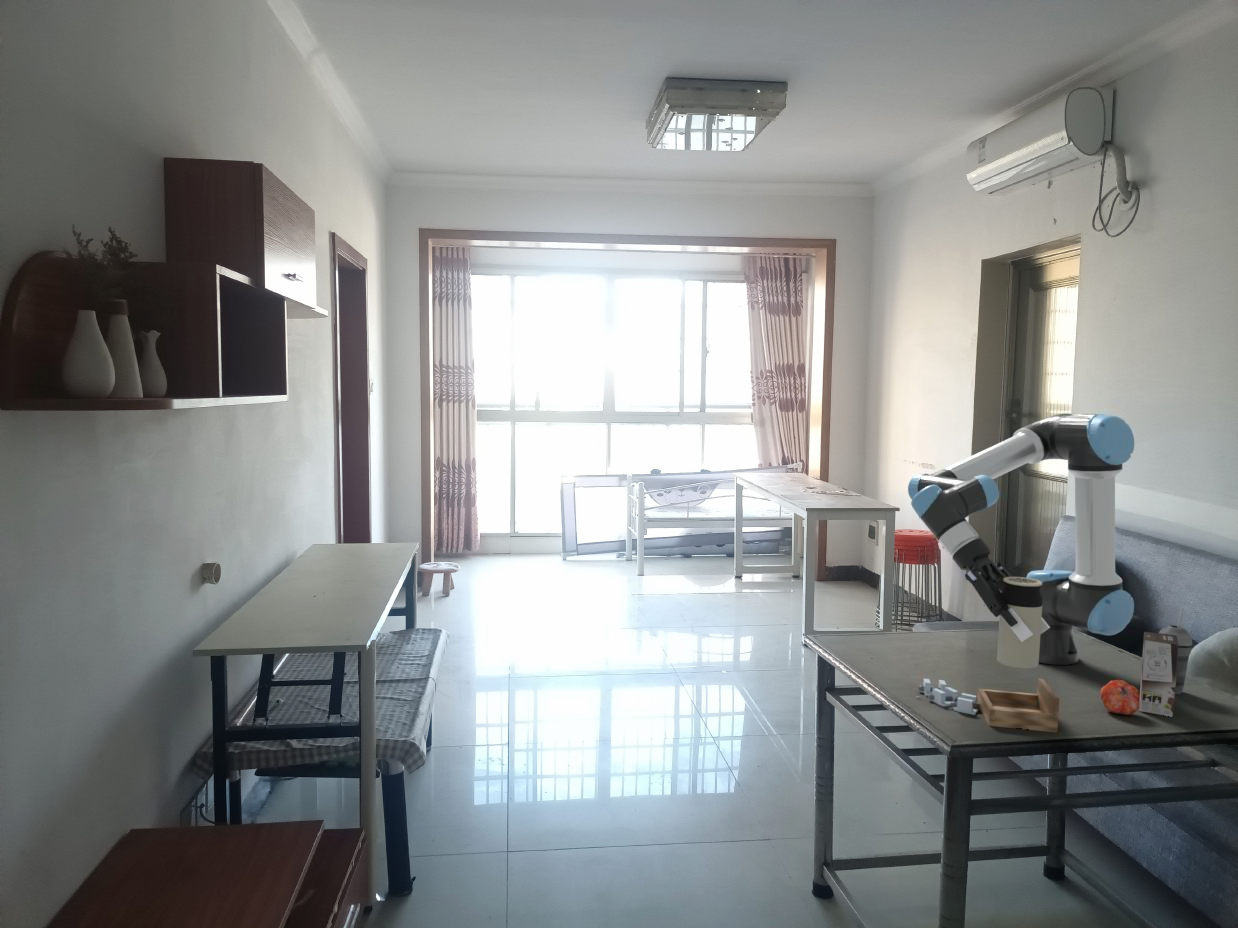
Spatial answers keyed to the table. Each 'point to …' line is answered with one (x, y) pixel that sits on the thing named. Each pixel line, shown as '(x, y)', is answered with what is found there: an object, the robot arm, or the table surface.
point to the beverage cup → (1180, 651)
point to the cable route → (950, 697)
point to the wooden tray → (1021, 708)
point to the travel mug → (1029, 608)
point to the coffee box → (1158, 673)
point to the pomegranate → (1120, 697)
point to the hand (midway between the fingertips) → (1036, 634)
